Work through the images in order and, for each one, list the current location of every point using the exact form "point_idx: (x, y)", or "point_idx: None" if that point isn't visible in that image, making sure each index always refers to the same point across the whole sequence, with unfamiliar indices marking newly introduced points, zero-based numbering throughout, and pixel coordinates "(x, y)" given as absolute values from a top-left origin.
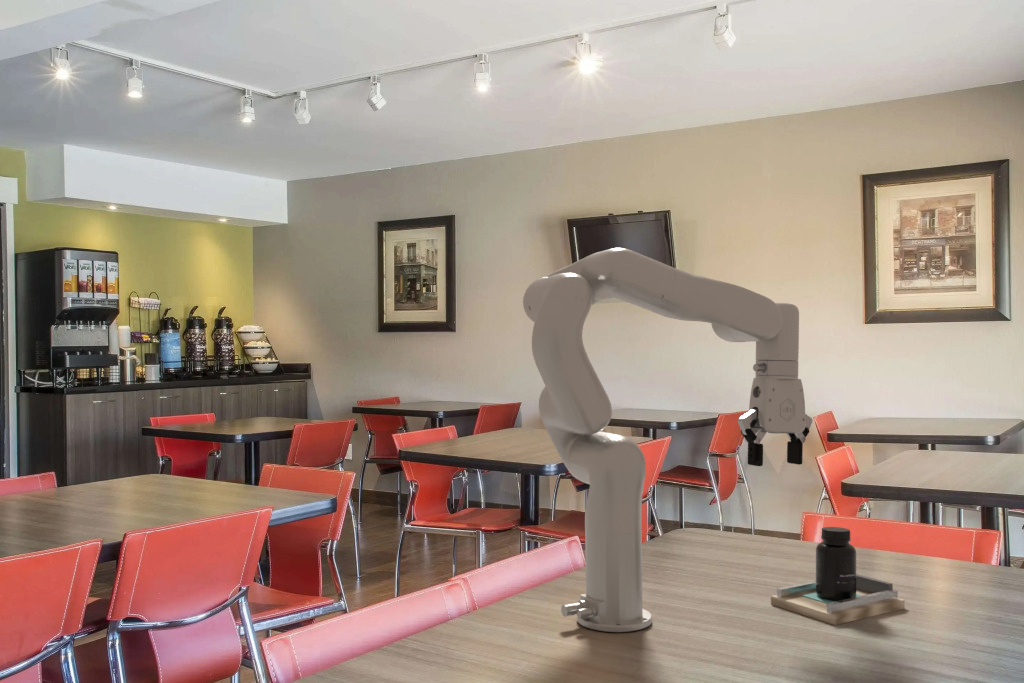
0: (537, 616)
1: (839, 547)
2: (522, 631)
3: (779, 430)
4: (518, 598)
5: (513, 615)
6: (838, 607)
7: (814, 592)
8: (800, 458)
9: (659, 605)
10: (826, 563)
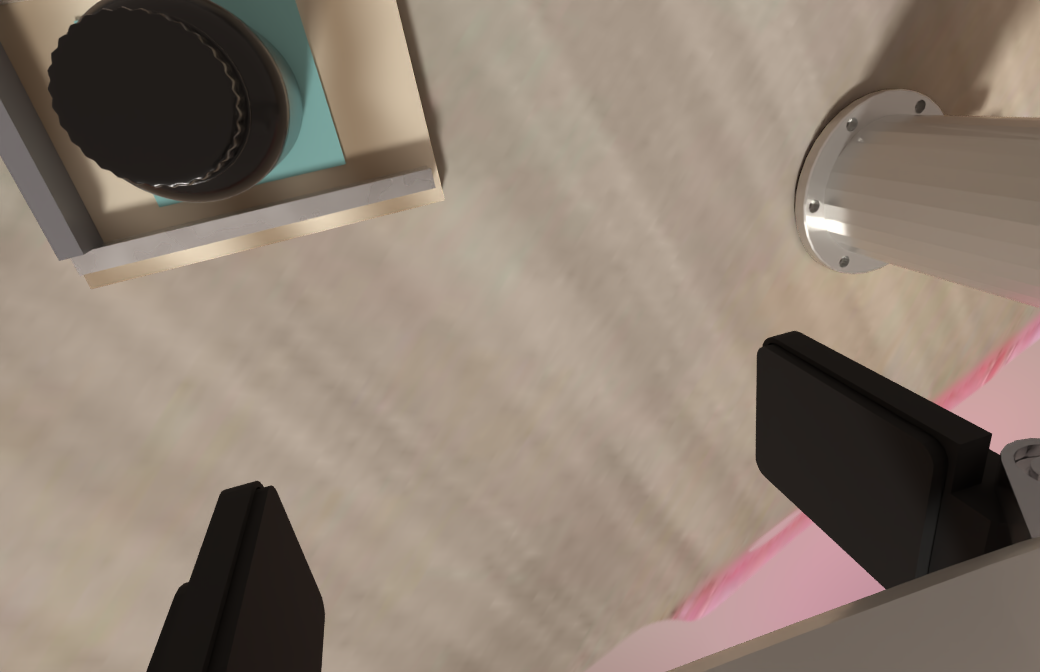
0: None
1: (197, 19)
2: None
3: (986, 599)
4: None
5: None
6: None
7: (280, 177)
8: (245, 515)
9: (714, 276)
10: (278, 61)
